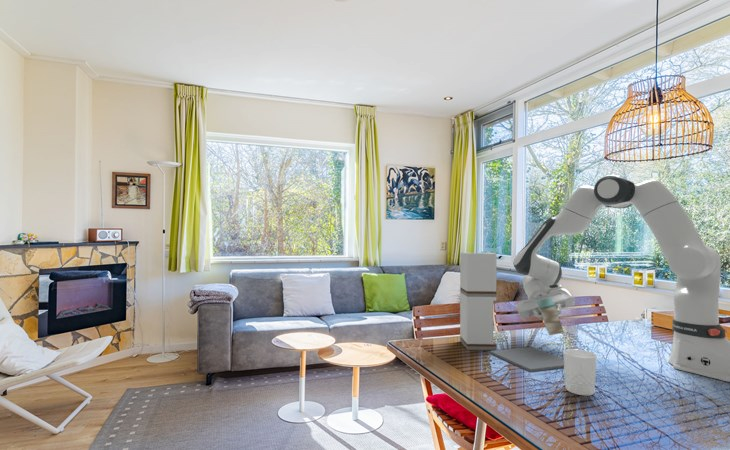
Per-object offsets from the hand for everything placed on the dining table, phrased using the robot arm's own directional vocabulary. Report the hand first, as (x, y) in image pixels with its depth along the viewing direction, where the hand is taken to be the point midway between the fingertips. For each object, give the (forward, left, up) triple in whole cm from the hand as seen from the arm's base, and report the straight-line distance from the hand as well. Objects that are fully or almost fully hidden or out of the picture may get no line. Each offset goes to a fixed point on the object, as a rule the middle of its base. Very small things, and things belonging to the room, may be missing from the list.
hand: (550, 315), depth 144 cm
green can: (+2, -4, -6) cm, 7 cm away
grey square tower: (+13, +22, -13) cm, 29 cm away
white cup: (-33, +22, -13) cm, 42 cm away
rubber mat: (-7, +15, -13) cm, 21 cm away
